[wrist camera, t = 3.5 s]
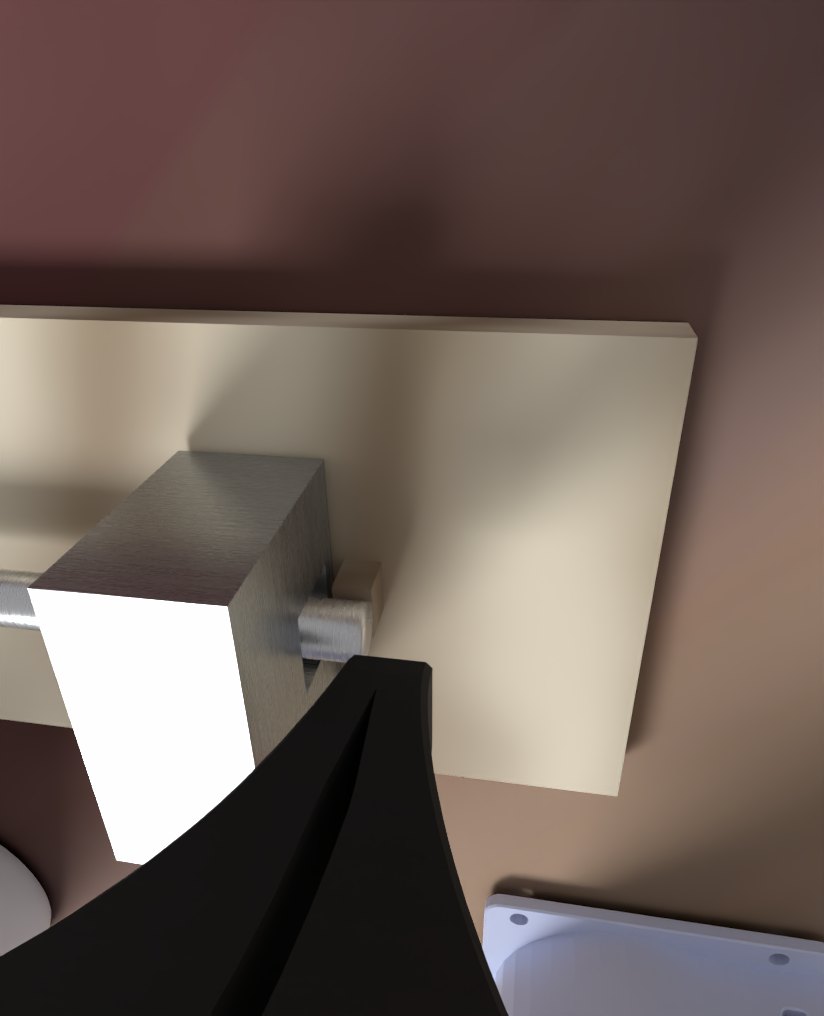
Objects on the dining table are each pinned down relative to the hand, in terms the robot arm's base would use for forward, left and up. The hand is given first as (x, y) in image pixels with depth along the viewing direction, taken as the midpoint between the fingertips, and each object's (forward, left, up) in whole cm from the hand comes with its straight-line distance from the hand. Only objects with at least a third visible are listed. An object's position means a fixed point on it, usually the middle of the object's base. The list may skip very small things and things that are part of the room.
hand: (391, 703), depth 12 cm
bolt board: (+7, 0, -4) cm, 8 cm away
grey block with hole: (+3, 0, -3) cm, 5 cm away
